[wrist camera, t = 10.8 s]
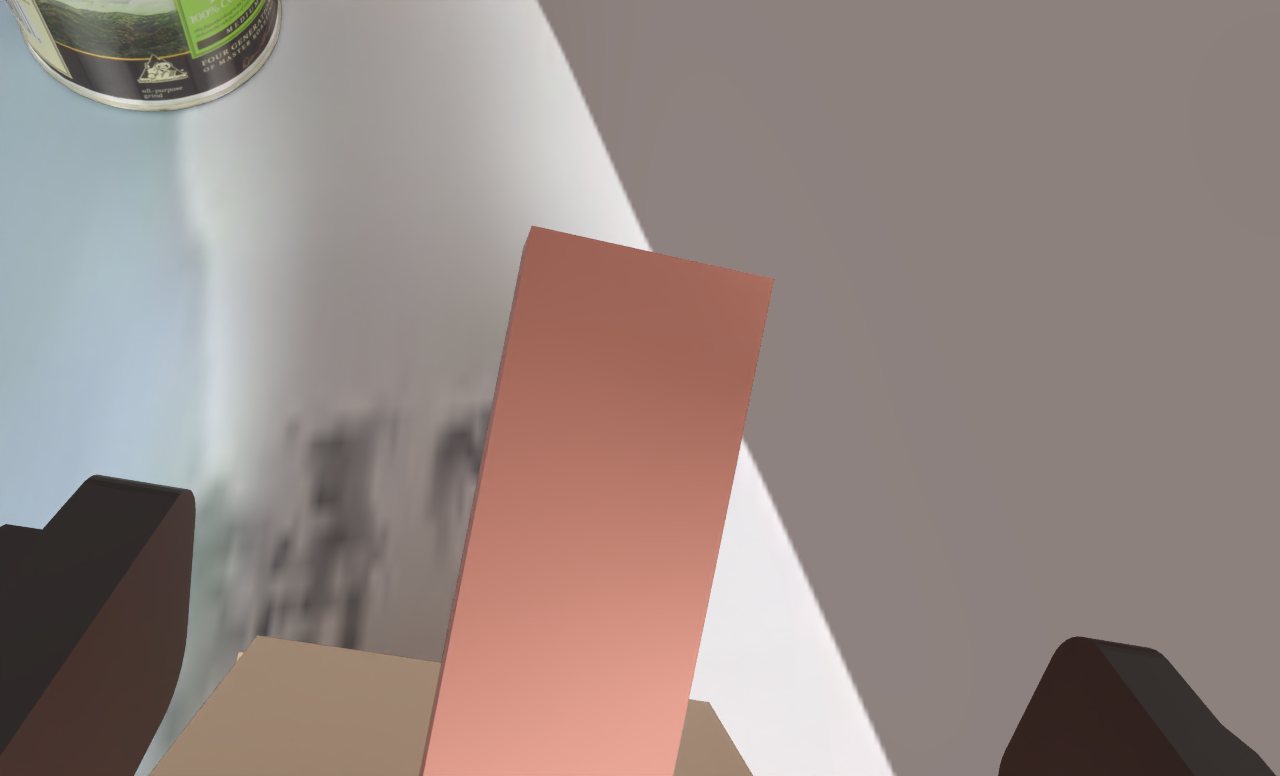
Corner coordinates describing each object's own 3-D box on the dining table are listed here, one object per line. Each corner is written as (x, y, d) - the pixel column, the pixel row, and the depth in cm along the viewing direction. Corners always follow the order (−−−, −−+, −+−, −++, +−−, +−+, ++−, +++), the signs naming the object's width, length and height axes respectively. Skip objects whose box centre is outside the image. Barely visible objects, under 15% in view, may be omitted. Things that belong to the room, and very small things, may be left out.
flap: (948, 1203, 13) (1128, 352, 12) (-77, 1134, 11) (112, 128, 10) (697, 729, 28) (776, 342, 28) (255, 665, 26) (335, 250, 26)
